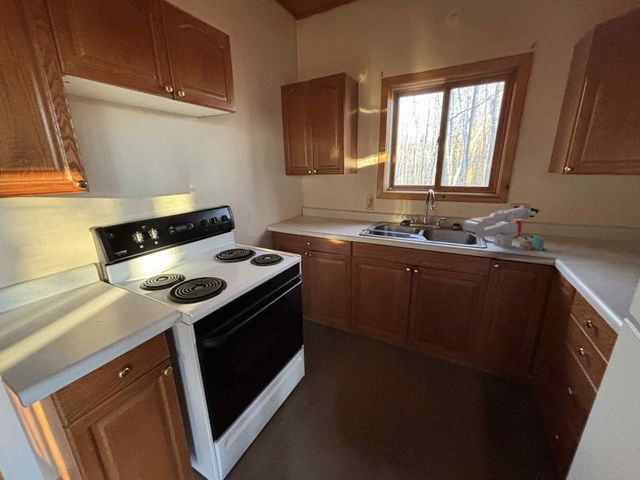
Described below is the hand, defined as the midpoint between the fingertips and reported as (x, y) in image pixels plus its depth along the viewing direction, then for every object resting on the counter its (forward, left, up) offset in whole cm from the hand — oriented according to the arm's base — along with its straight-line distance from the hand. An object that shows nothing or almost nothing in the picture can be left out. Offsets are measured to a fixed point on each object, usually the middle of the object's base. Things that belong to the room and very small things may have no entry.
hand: (531, 209), depth 170 cm
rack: (-11, -11, -22) cm, 27 cm away
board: (-9, -12, -21) cm, 26 cm away
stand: (-1, -1, -22) cm, 22 cm away
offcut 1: (-13, -7, -21) cm, 25 cm away
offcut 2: (-16, -11, -21) cm, 28 cm away
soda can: (+11, +15, -22) cm, 29 cm away
